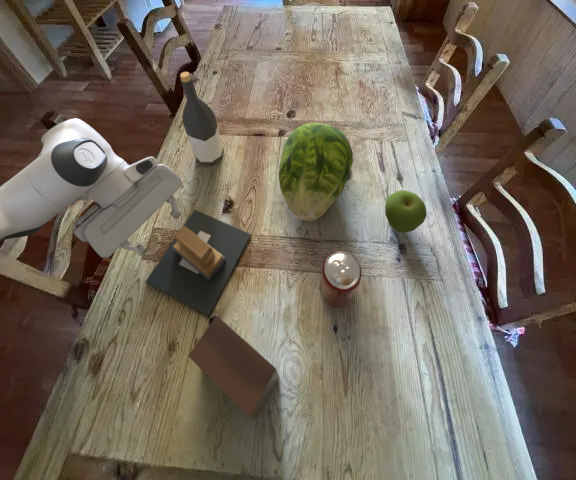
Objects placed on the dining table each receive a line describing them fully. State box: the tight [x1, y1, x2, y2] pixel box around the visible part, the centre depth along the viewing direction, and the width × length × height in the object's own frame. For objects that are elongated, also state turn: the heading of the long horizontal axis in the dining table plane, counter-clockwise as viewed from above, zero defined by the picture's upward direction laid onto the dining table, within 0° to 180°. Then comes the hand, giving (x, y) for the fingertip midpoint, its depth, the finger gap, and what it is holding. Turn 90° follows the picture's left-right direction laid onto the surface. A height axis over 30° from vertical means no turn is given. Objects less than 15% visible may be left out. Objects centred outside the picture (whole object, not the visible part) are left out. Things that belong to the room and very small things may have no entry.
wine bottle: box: [179, 71, 224, 166], centre depth 87 cm, size 8×8×30 cm
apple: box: [384, 189, 427, 234], centre depth 77 cm, size 9×8×12 cm
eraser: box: [173, 225, 226, 281], centre depth 73 cm, size 5×11×8 cm, turn 55°
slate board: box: [145, 209, 252, 318], centre depth 76 cm, size 18×16×1 cm
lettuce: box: [278, 122, 354, 222], centre depth 83 cm, size 18×23×19 cm
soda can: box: [319, 249, 363, 309], centre depth 67 cm, size 7×7×12 cm
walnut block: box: [187, 315, 280, 422], centre depth 58 cm, size 7×13×11 cm, turn 55°
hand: (161, 234), depth 72 cm, fingers open, 8 cm apart
